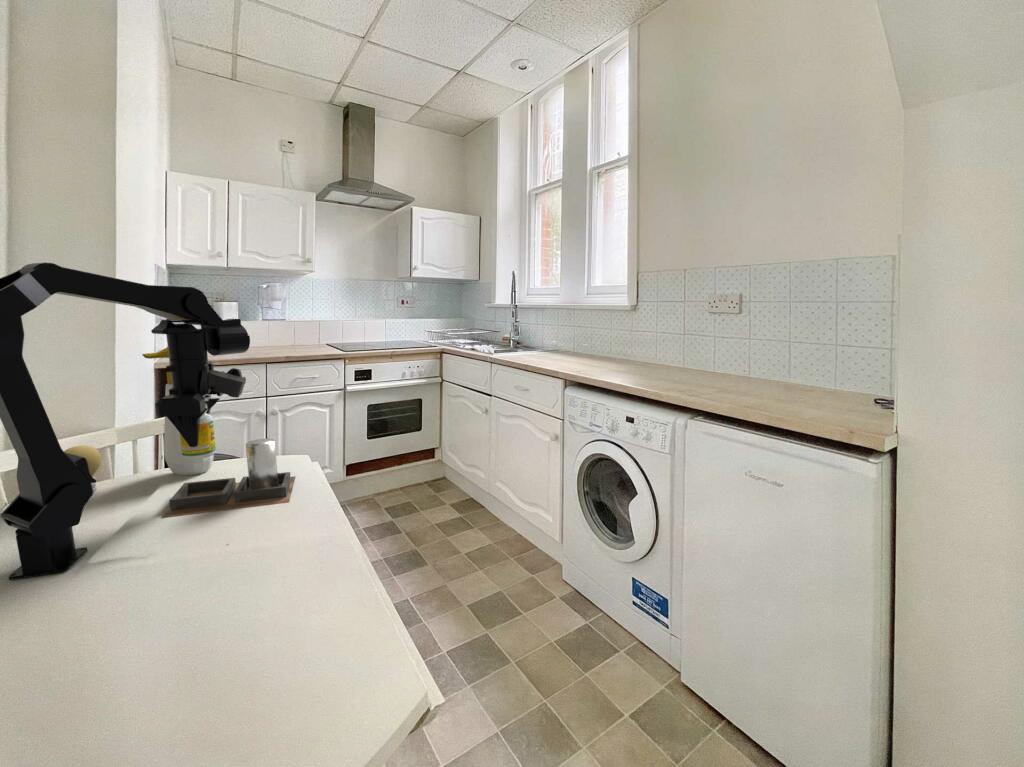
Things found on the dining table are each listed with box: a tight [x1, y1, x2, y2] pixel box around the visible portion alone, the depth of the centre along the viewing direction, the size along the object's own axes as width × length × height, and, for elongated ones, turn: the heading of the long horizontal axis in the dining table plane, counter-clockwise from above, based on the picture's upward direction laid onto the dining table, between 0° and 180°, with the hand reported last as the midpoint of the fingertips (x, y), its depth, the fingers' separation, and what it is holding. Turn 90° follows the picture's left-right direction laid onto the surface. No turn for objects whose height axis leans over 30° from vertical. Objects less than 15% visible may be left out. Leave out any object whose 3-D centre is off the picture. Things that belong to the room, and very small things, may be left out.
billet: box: [245, 438, 279, 490], centre depth 91 cm, size 5×5×10 cm
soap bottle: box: [141, 346, 215, 476], centre depth 101 cm, size 13×10×29 cm
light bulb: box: [63, 445, 102, 494], centre depth 93 cm, size 6×6×10 cm
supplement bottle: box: [179, 403, 217, 459], centre depth 86 cm, size 5×5×10 cm
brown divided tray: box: [160, 471, 296, 519], centre depth 90 cm, size 14×20×4 cm
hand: (198, 442), depth 87 cm, fingers closed on supplement bottle, 5 cm apart
